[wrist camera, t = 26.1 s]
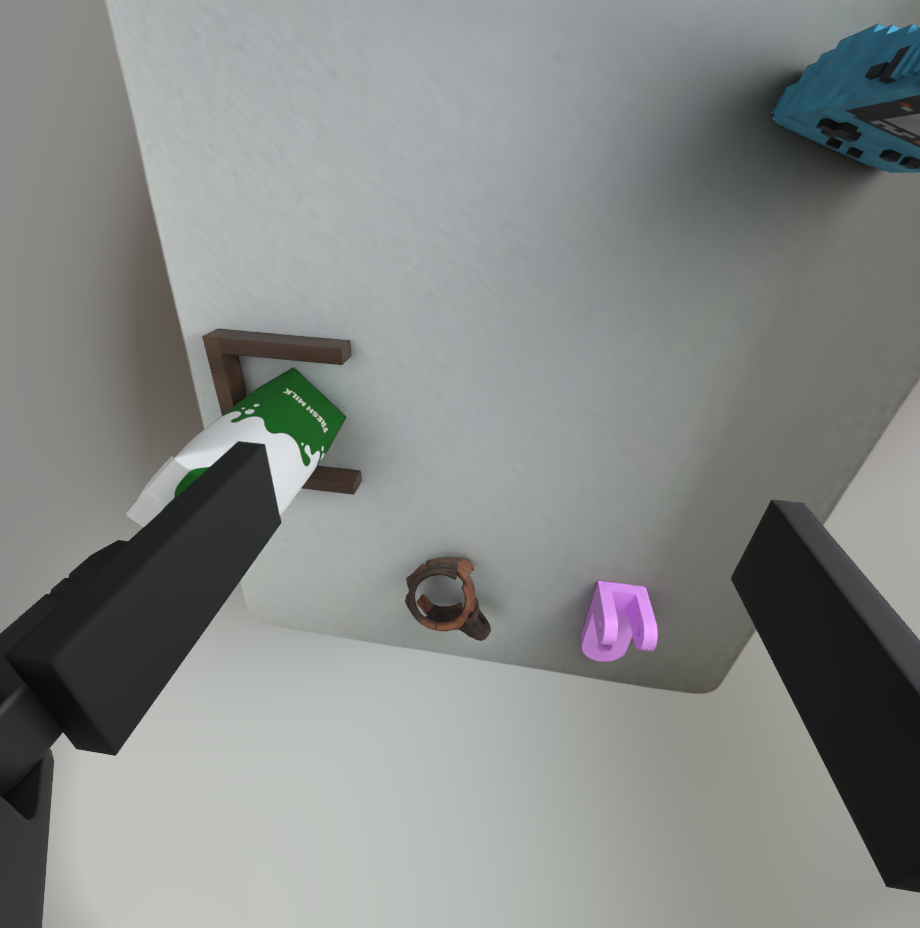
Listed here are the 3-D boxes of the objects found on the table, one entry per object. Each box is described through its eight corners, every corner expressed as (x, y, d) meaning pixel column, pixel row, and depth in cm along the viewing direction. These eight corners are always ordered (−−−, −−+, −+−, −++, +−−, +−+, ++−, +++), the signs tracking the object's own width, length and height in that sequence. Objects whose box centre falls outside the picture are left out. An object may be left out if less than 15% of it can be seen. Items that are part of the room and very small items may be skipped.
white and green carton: (358, 417, 47) (264, 552, 30) (307, 464, 51) (198, 606, 34) (291, 353, 44) (145, 463, 27) (242, 408, 48) (88, 533, 31)
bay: (217, 328, 44) (201, 336, 42) (350, 340, 43) (341, 349, 40) (250, 469, 52) (238, 481, 50) (361, 481, 51) (354, 494, 49)
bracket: (598, 580, 55) (606, 629, 49) (645, 586, 54) (660, 636, 48) (577, 648, 62) (582, 698, 56) (619, 654, 61) (629, 705, 55)
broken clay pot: (399, 587, 60) (383, 609, 52) (441, 530, 60) (432, 543, 51) (472, 643, 60) (468, 674, 51) (516, 586, 59) (519, 608, 51)
